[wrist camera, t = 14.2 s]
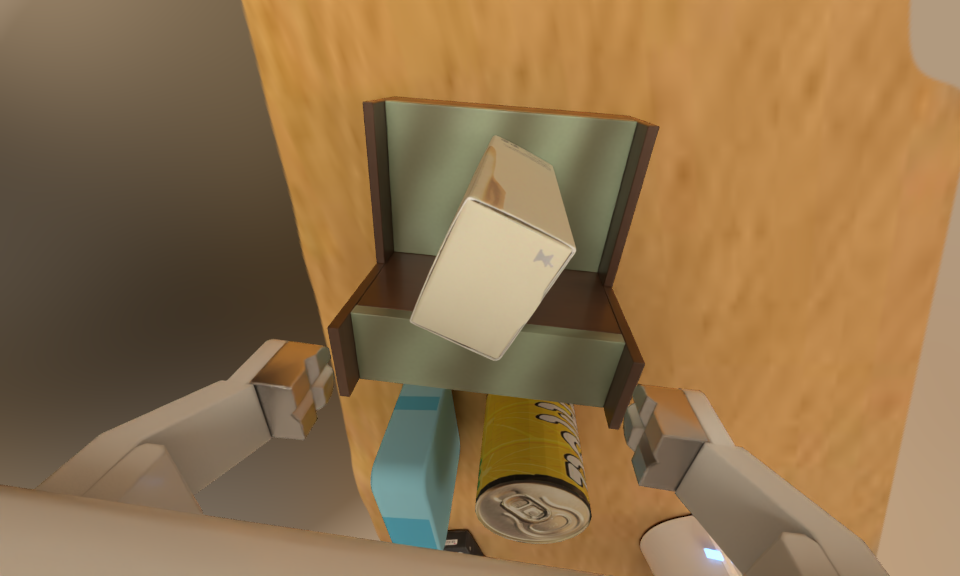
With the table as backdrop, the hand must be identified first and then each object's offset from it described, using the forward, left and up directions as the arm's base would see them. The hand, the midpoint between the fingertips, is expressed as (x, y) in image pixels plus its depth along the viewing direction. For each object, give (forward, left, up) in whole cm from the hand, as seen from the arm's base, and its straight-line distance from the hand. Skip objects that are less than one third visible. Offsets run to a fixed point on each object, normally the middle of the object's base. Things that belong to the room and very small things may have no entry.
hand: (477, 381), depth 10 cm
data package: (+5, +26, -21) cm, 34 cm away
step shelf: (0, +2, -21) cm, 21 cm away
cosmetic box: (0, 0, -17) cm, 17 cm away
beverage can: (-5, +22, -21) cm, 31 cm away
